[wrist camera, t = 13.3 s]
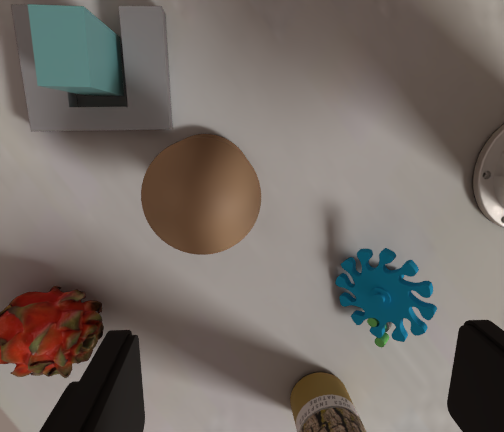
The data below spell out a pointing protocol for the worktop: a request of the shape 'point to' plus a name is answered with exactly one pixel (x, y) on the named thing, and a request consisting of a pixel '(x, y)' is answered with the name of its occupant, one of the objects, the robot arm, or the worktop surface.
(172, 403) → the worktop surface
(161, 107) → the notched board
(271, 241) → the worktop surface
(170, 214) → the door knob
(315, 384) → the paper tube
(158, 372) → the worktop surface
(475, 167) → the robot arm
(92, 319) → the dragon fruit
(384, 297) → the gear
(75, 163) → the worktop surface
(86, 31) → the teal tab
